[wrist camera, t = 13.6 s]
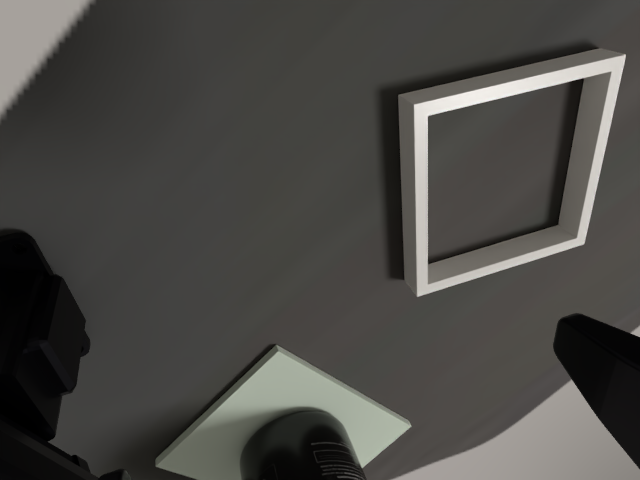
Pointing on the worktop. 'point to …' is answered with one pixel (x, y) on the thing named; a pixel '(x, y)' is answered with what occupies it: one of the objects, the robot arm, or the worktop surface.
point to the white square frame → (582, 172)
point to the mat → (270, 403)
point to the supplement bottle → (301, 450)
